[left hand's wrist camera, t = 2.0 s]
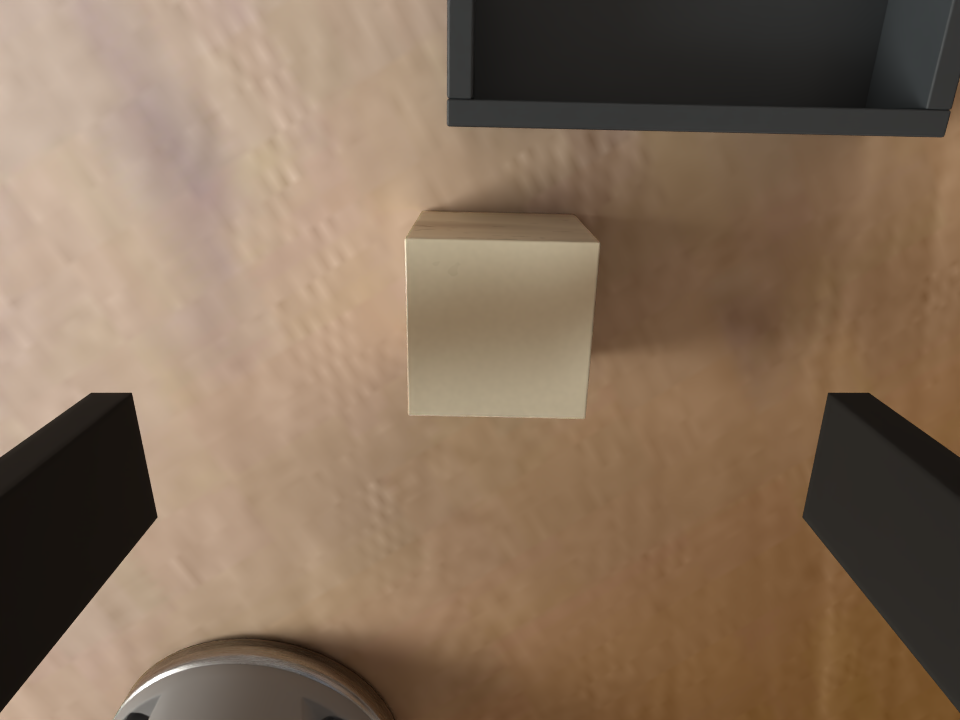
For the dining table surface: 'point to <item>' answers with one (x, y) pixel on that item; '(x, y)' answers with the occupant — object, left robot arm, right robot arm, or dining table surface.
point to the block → (499, 314)
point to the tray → (705, 65)
